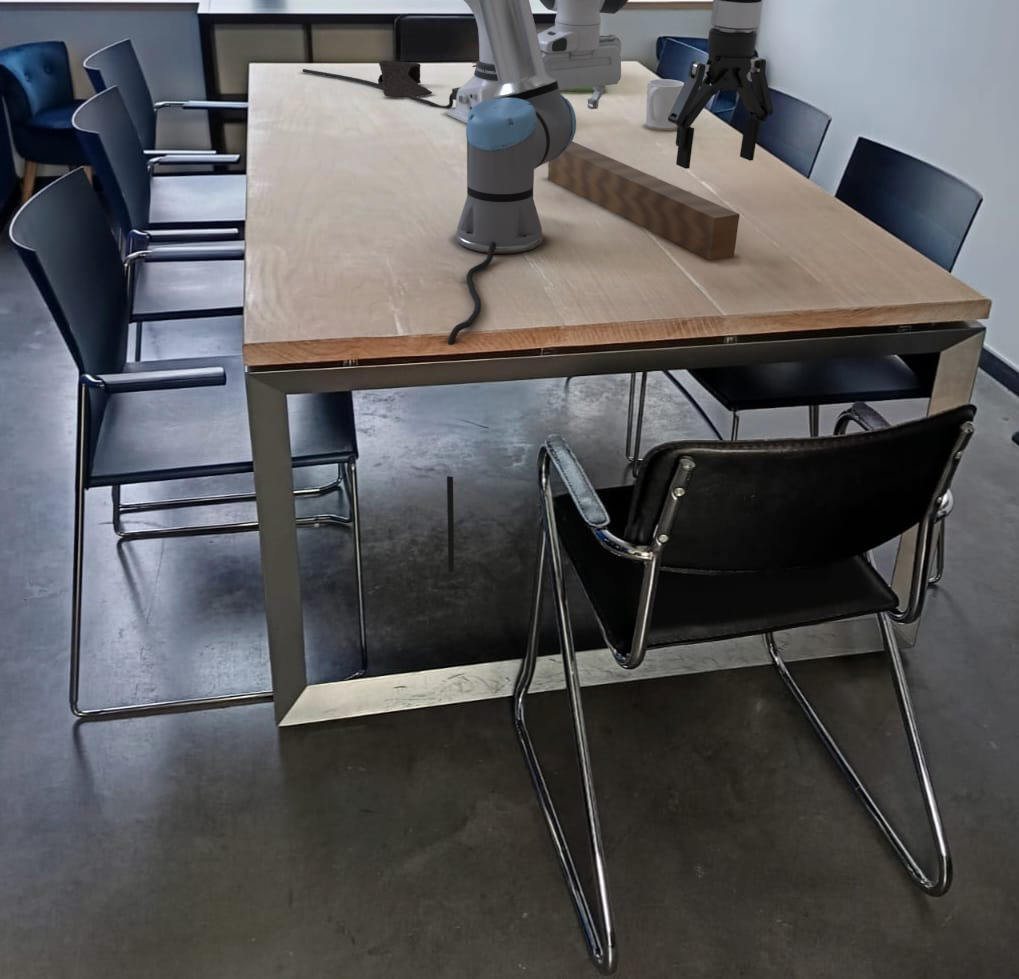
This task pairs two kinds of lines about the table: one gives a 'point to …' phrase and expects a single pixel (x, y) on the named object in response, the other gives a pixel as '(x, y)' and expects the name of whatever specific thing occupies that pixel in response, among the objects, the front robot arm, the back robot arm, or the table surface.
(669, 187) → the post
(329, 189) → the table surface
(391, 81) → the axe head
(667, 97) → the mug
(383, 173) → the table surface
